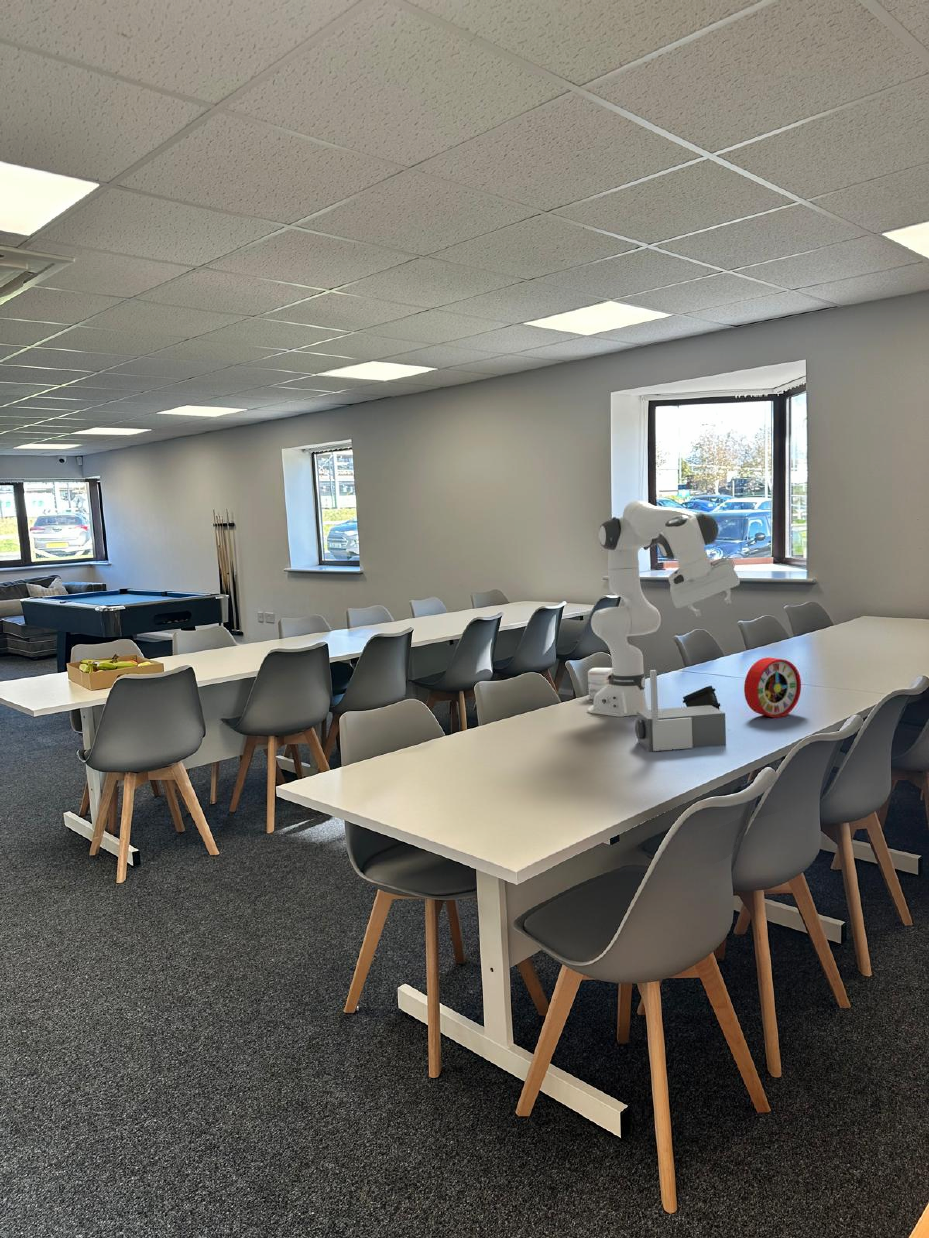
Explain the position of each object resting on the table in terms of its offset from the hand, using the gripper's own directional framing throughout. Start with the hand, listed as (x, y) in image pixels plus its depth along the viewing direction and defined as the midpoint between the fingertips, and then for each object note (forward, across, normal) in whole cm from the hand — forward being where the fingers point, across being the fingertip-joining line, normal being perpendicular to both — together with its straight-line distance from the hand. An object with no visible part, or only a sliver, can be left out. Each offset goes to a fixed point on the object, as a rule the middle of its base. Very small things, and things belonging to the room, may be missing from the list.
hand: (713, 609), depth 255 cm
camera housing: (+36, +25, +3) cm, 43 cm away
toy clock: (+52, -4, -32) cm, 62 cm away
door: (+33, +27, +11) cm, 44 cm away
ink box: (+37, +54, -68) cm, 94 cm away
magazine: (+41, +18, -13) cm, 47 cm away
